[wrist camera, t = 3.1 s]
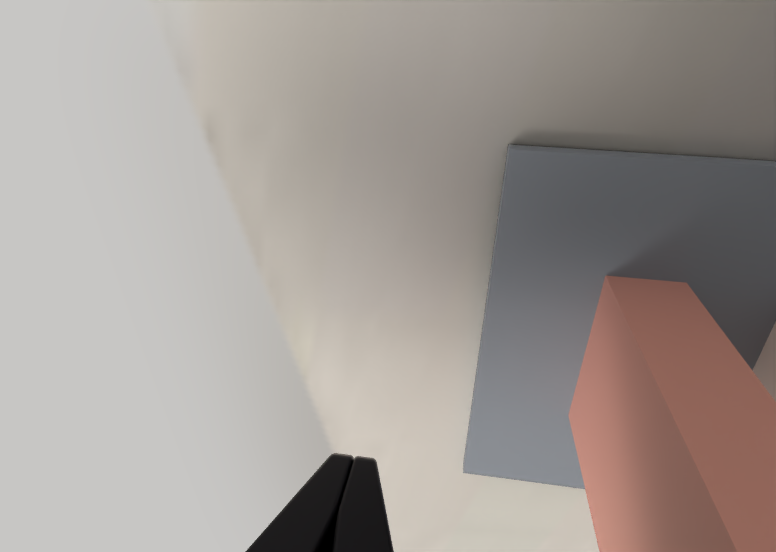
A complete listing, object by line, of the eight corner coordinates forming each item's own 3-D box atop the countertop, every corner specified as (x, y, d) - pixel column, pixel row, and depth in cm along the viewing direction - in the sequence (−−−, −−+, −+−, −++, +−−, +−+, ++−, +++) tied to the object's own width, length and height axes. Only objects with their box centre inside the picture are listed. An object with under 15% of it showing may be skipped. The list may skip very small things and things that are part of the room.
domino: (636, 423, 14) (847, 972, 6) (568, 415, 14) (688, 936, 6) (686, 282, 12) (1109, 847, 4) (605, 275, 12) (857, 800, 4)
